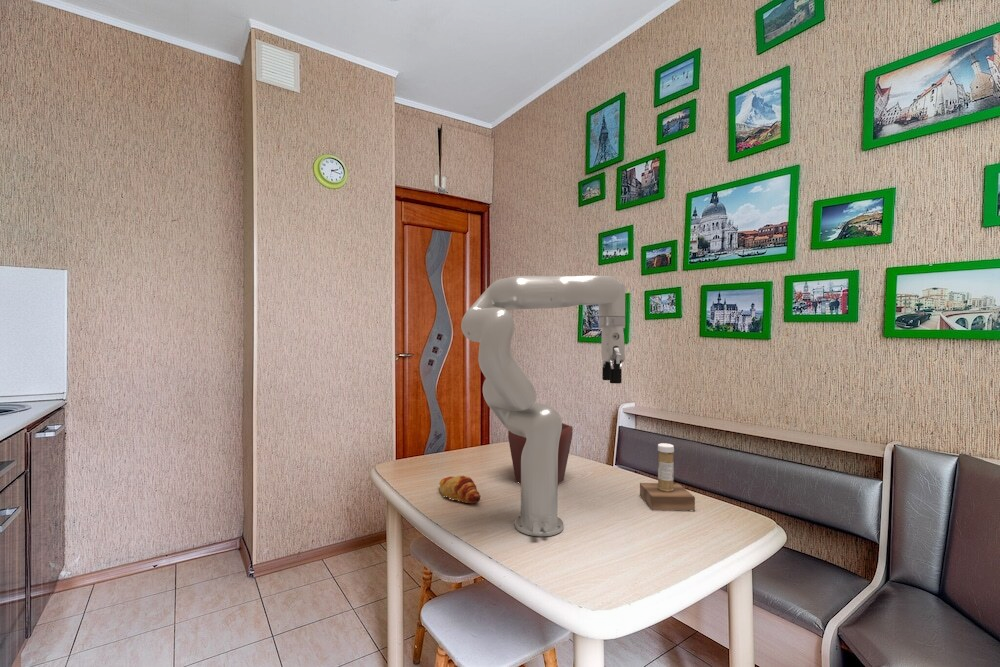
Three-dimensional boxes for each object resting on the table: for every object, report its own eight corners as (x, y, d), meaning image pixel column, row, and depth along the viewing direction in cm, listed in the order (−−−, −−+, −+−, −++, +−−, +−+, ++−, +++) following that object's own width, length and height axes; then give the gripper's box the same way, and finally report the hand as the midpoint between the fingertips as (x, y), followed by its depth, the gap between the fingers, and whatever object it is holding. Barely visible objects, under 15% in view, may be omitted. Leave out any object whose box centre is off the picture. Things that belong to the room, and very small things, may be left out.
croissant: (433, 499, 144) (423, 480, 141) (456, 479, 149) (447, 460, 147) (471, 519, 127) (460, 497, 125) (496, 496, 133) (486, 474, 131)
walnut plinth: (694, 511, 126) (694, 497, 126) (652, 510, 126) (652, 496, 127) (678, 496, 138) (678, 483, 138) (639, 495, 138) (639, 483, 138)
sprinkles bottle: (661, 486, 135) (661, 442, 136) (676, 489, 132) (676, 444, 133) (654, 489, 132) (655, 444, 132) (670, 493, 129) (670, 447, 129)
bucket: (508, 468, 167) (509, 401, 167) (568, 469, 166) (568, 402, 166) (507, 490, 142) (508, 412, 143) (576, 492, 141) (577, 413, 142)
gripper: (632, 322, 122) (632, 384, 121) (617, 324, 139) (617, 379, 139) (605, 322, 122) (605, 384, 122) (593, 324, 139) (593, 378, 139)
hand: (611, 381), depth 130 cm, fingers open, 9 cm apart
